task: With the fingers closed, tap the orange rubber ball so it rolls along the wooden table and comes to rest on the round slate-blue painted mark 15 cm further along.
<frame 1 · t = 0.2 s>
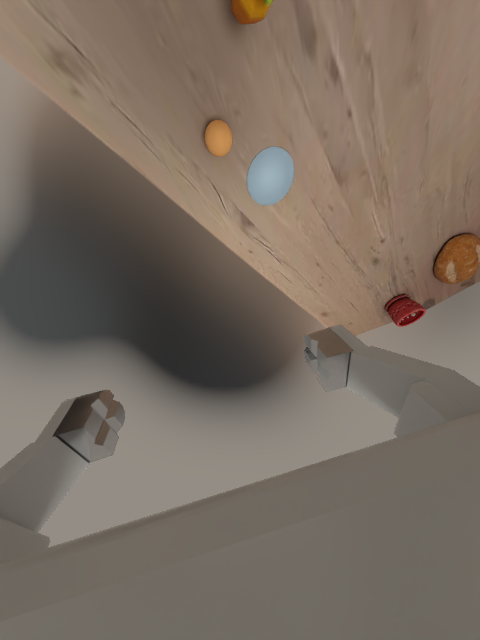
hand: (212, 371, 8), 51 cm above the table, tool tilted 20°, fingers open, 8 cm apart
plant pot: (393, 301, 106), on the table
carrot: (237, 7, 32), on the table
bread: (452, 258, 91), on the table
ball: (218, 138, 40), on the table
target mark: (270, 178, 50), on the table
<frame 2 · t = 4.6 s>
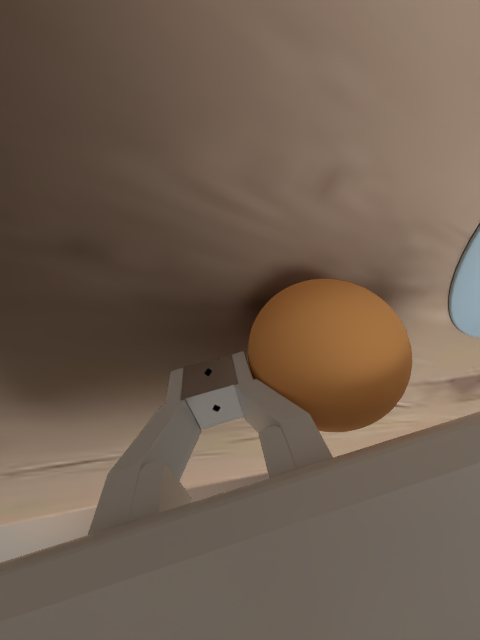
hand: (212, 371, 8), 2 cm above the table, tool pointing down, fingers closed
ball: (319, 351, 8), on the table, touching gripper
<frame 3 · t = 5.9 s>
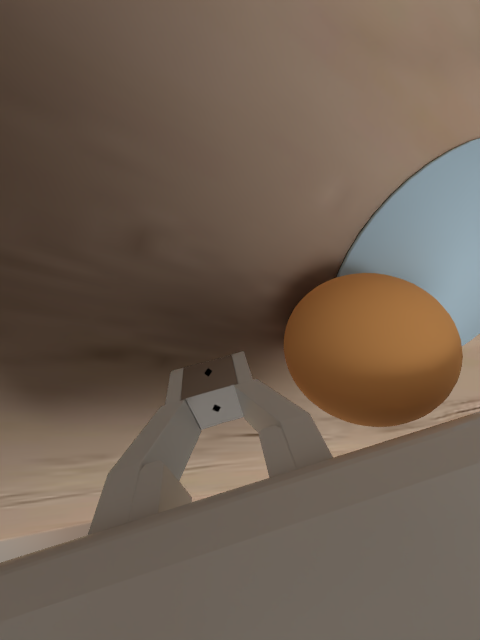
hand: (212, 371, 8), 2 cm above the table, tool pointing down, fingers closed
ball: (356, 346, 8), on the table
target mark: (436, 286, 10), on the table
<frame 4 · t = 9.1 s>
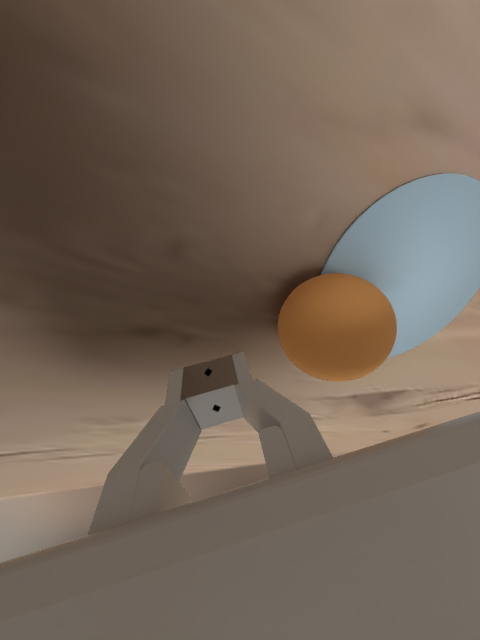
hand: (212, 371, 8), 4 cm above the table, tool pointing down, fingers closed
ball: (330, 326, 10), on the table
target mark: (402, 286, 13), on the table
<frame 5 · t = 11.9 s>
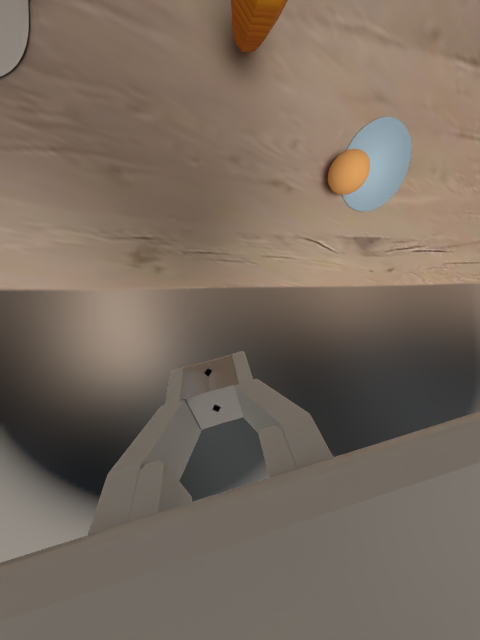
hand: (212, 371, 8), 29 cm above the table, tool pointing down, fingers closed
carrot: (241, 47, 24), on the table
ball: (348, 173, 30), on the table
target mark: (374, 168, 32), on the table
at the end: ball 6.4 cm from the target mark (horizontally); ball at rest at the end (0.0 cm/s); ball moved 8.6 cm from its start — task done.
